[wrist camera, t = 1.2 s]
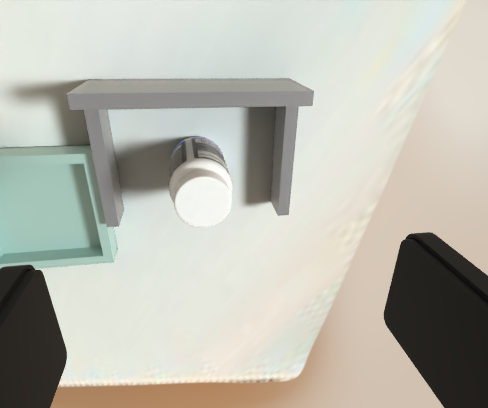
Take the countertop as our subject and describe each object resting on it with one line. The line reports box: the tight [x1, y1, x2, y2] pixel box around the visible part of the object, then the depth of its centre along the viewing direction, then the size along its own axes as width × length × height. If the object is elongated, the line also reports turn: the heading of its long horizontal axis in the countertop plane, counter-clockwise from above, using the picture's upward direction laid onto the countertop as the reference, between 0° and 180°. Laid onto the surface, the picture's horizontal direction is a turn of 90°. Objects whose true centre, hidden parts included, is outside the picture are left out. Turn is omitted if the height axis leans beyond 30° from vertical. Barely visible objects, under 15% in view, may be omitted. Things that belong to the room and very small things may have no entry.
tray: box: [0, 145, 118, 269], centre depth 29 cm, size 11×11×2 cm
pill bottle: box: [169, 137, 232, 227], centre depth 27 cm, size 5×5×8 cm
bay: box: [66, 79, 314, 227], centre depth 28 cm, size 12×16×6 cm
